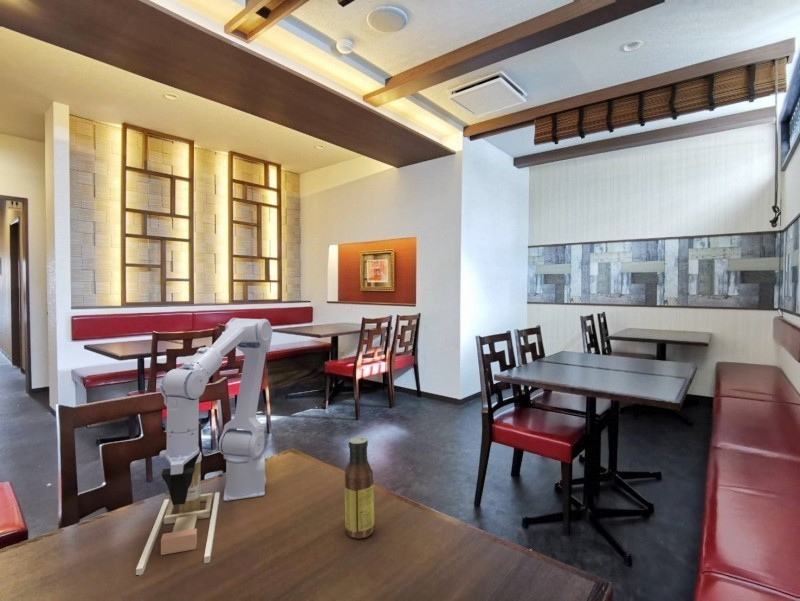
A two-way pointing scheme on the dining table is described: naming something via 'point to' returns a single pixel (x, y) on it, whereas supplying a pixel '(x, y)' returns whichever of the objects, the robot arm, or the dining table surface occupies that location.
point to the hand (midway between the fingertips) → (182, 495)
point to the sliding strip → (183, 527)
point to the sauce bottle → (359, 491)
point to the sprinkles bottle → (193, 491)
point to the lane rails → (156, 529)
